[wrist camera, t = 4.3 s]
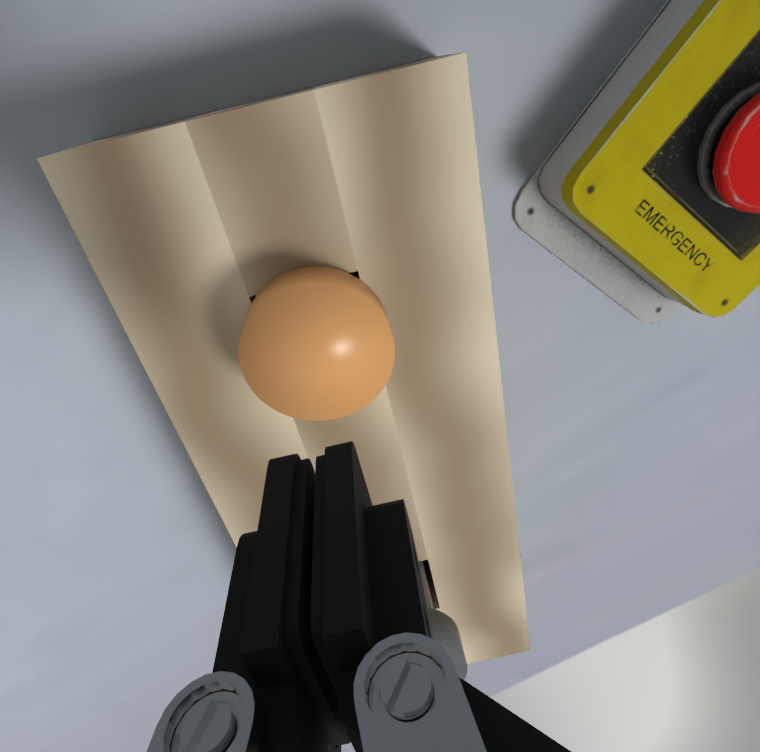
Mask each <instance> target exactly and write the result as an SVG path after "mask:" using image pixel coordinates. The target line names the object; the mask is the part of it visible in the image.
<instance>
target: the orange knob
mask: <svg viewBox="0 0 760 752" xmlns="http://www.w3.org/2000/svg"><path fill="white" fill-rule="evenodd" d="M394 359H395V346H394V339H393V336H392V332H391V328H390V325H389V321H388V318H387V314H386V311H385V309H384V307H383V305H382V303H381V301H380V300H379V298H378V296H377V295H376V294H375V293H374V292H373V290H372V289H371V288H370V287H369V286H367V285H366V284H365V283H364V282H363V281H361V280H360V279H358V278H357V277H355V276H353V274H352V272H351V273H347V272H344V271H341V270H338V269H334V268H329V267H319V266H316V267H304V268H298V269H295V270H291V271H288V272H286V273H284V274H282V275H279V276H278V277H276V278H275V279H273V280H271V281H270V282H269V283H268V284H267V285H265V286H264V287H263V288H262V289H261V290H260V292H259V293H258V294H257V295H256V297H255V298H254V300H253V301H252V303H251V306H250V308H249V310H248V313H247V316H246V320H245V323H244V326H243V329H242V333H241V336H240V341H239V362H240V367H241V370H242V373H243V376H244V378H245V380H246V382H247V384H248V385H249V387H250V388H251V390H252V391H253V392H254V393H255V394H256V396H257V397H258V398H259V399H260V400H262V401H263V402H264V403H265V404H266V405H268V406H269V407H271V408H272V409H274V410H276V411H278V412H280V413H282V414H284V415H287V416H289V417H293V418H297V419H301V420H308V421H327V420H333V419H338V418H342V417H345V416H348V415H350V414H353V413H355V412H357V411H359V410H360V409H362V408H364V407H365V406H366V405H368V404H369V403H371V402H372V401H373V400H374V399H375V398H376V397H377V396H378V395H379V393H380V392H381V391H382V390H383V388H384V387H385V385H386V384H387V382H388V380H389V378H390V375H391V373H392V369H393V366H394Z"/></svg>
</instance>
